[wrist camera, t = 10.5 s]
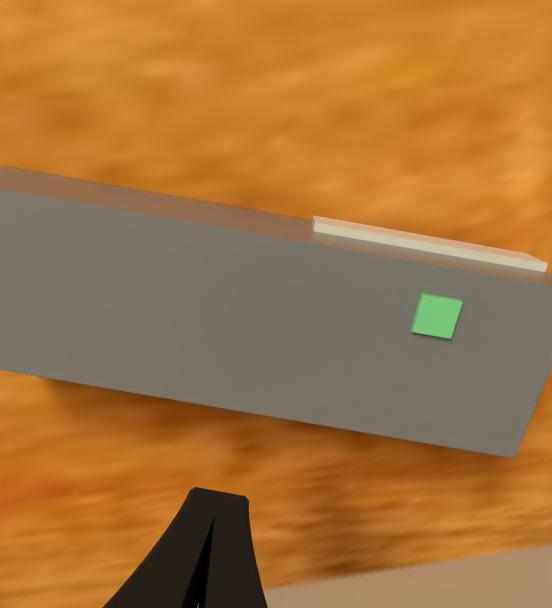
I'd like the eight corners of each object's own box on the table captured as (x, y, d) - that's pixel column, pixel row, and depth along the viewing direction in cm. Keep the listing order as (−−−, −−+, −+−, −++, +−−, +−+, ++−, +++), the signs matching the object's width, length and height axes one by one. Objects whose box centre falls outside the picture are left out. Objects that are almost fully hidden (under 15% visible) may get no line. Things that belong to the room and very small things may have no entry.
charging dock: (517, 249, 18) (590, 283, 13) (468, 391, 20) (517, 462, 16) (2, 157, 18) (-98, 162, 13) (5, 311, 20) (-80, 359, 15)
